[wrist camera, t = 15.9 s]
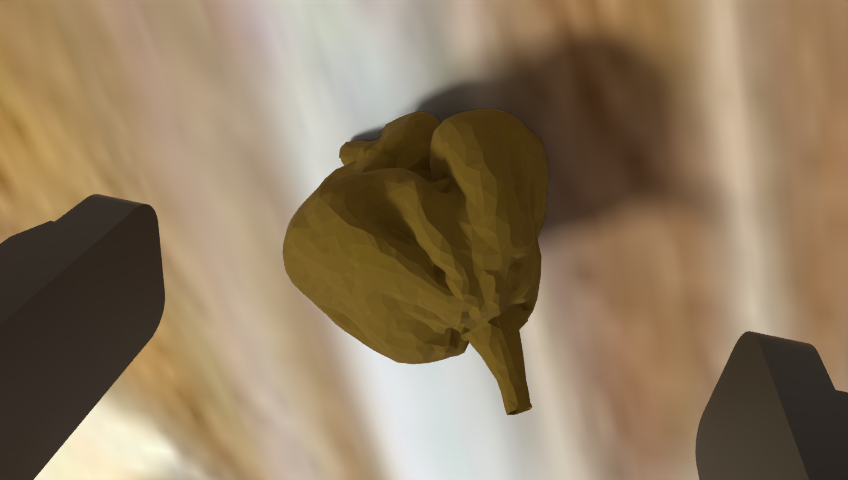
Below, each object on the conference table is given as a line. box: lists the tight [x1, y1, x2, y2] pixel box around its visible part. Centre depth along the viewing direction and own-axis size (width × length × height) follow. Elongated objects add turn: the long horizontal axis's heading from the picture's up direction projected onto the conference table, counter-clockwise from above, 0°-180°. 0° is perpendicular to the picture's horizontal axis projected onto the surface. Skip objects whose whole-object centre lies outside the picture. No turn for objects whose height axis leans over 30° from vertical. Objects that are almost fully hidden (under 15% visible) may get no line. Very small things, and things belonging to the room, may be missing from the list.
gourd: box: [283, 108, 548, 415], centre depth 39 cm, size 14×14×14 cm
